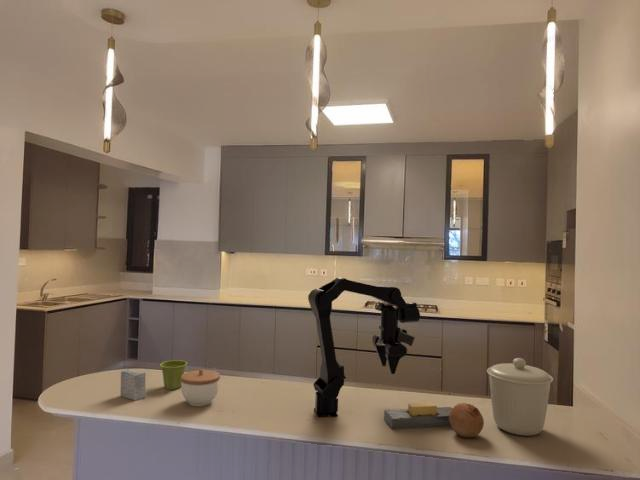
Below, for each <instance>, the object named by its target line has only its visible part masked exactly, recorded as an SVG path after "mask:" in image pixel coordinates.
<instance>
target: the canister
mask: <svg viewBox="0 0 640 480" xmlns="http://www.w3.org/2000/svg"><path fill="white" fill-rule="evenodd" d="M486 373H487V374H488V378H489V388H490V399H491V408H492V416H493V420H494V423H495V424H496V425H497V427H498V428H500V429H501V430H502V431H504V432H507V433H510V434H512V435H516V436H517V435H518V436H525V437H526V436H527V437H528V436H536V435H538V434H540V433H541V432H542V431H543V429H544V426H545V421H546V416H547V411H548V404H549V398H550V397H549V396H550V391H551V384H552V382H553V381H554V378H553V376H552V375H550V374H549V372H546V370H543V369H541V368H539V367H536V366H531V365H528V364H527V363H526V360H525V359H524V358H521V357H516V358H514V359H512V363H509V362H508V363H498V364H494V365H492V366H489V367H488V368H487V369H486Z"/></svg>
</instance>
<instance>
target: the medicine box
mask: <svg viewBox="0 0 640 480" xmlns="http://www.w3.org/2000/svg"><path fill="white" fill-rule="evenodd" d="M146 377H147V375H146V372H145V371H141V370H138V369H133V368H129V369H125V370H123V371H120V397H121V398H126V399H129V400H131V401H138V400H141V399H144V398H146V388H147V387H146V381H147V380H146Z"/></svg>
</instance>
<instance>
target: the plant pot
mask: <svg viewBox="0 0 640 480" xmlns="http://www.w3.org/2000/svg"><path fill="white" fill-rule="evenodd" d="M159 365H160V368H161V372H162V379H163V384H164V385H163V386H164V388H165V389H166V390H170V391H171V390H175V389H178V388H179V389H180V388H181V376H182V375H183V374H185V369H186V367H187V365H188V362H187V361H185V360H181V359H180V360H177V359H175V360H166V361H163V362H161V363H160V364H159ZM181 389H182V388H181Z"/></svg>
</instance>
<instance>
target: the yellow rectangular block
mask: <svg viewBox="0 0 640 480" xmlns="http://www.w3.org/2000/svg"><path fill="white" fill-rule="evenodd" d="M407 406H408V408H407V409H408V412H409V415H410V416H418V415H424V414H429V415H436V414H437V407H438V406H437V404H436V403H434V402H415V403H413V402H412V403H408V404H407Z"/></svg>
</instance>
